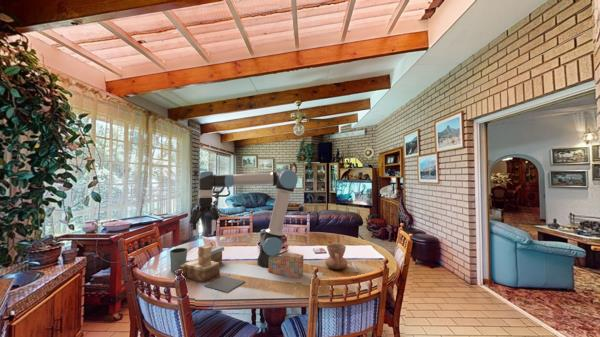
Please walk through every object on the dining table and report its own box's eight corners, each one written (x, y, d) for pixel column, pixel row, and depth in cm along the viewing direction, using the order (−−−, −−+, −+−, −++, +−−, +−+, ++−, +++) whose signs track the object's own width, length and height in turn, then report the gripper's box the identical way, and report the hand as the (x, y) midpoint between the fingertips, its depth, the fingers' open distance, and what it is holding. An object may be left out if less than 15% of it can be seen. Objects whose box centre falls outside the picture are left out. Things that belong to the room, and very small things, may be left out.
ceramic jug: (325, 262, 168) (325, 241, 169) (346, 263, 166) (346, 242, 167) (324, 272, 150) (324, 249, 151) (348, 274, 148) (348, 250, 149)
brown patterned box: (268, 272, 150) (268, 252, 151) (273, 268, 156) (273, 249, 156) (298, 279, 141) (299, 257, 141) (303, 275, 147) (303, 254, 147)
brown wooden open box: (237, 266, 160) (237, 254, 160) (199, 284, 132) (199, 271, 133) (217, 261, 168) (217, 250, 168) (177, 278, 140) (177, 265, 140)
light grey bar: (224, 250, 168) (224, 246, 168) (204, 257, 153) (204, 253, 153) (221, 249, 169) (221, 246, 169) (201, 257, 154) (201, 253, 154)
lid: (218, 266, 146) (218, 245, 146) (203, 273, 136) (204, 250, 136) (198, 262, 153) (198, 242, 154) (183, 267, 143) (183, 246, 144)
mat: (245, 282, 136) (245, 281, 136) (227, 293, 123) (227, 291, 123) (223, 276, 143) (223, 275, 143) (204, 286, 131) (204, 285, 131)
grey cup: (182, 264, 162) (183, 246, 162) (190, 268, 155) (190, 249, 156) (166, 269, 154) (167, 250, 154) (173, 273, 147) (174, 253, 148)
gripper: (216, 195, 157) (216, 228, 157) (183, 198, 135) (182, 236, 134) (225, 195, 154) (224, 229, 153) (192, 198, 132) (191, 238, 131)
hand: (204, 233), depth 144 cm, fingers open, 13 cm apart
